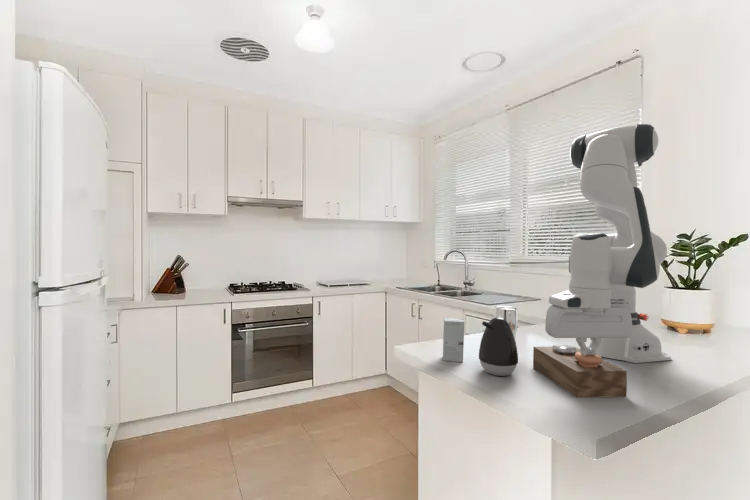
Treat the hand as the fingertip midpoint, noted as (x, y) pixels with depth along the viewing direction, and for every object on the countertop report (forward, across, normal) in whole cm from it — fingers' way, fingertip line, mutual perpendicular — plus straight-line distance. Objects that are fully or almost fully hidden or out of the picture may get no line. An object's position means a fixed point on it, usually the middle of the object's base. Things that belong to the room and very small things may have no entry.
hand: (588, 355), depth 88 cm
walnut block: (+8, 0, -5) cm, 10 cm away
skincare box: (+8, +27, -23) cm, 36 cm away
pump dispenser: (+8, +18, -11) cm, 23 cm away
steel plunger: (+6, 0, -10) cm, 12 cm away
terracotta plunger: (+5, 0, 0) cm, 5 cm away
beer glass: (+8, +9, -27) cm, 30 cm away
